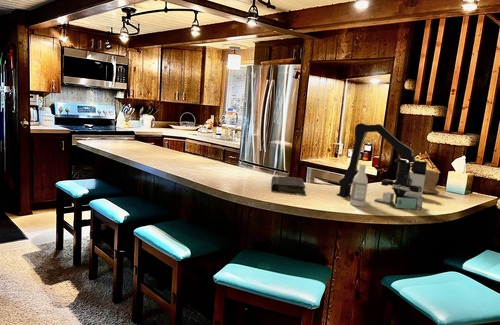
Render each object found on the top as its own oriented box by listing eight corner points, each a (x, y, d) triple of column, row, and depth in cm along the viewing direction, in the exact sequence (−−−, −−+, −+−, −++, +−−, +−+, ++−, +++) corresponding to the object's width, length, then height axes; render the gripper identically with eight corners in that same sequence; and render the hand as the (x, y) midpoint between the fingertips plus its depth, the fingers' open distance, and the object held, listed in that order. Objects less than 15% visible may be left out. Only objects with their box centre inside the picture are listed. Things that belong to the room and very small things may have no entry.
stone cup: (433, 192, 249) (436, 169, 247) (441, 195, 237) (445, 172, 235) (409, 189, 249) (413, 167, 247) (417, 193, 237) (420, 169, 235)
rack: (417, 209, 189) (418, 198, 188) (393, 203, 197) (395, 193, 196) (423, 207, 195) (425, 196, 194) (400, 202, 203) (401, 191, 202)
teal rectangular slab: (413, 208, 190) (415, 198, 189) (416, 209, 188) (418, 199, 187) (395, 207, 188) (397, 197, 187) (398, 208, 186) (399, 198, 185)
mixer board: (388, 204, 194) (389, 202, 193) (374, 201, 199) (374, 199, 199) (393, 203, 198) (394, 201, 198) (379, 200, 203) (379, 198, 203)
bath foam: (353, 202, 190) (359, 163, 188) (366, 205, 186) (372, 165, 183) (347, 204, 185) (352, 163, 183) (360, 207, 181) (366, 166, 178)
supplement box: (420, 196, 228) (424, 171, 226) (421, 199, 219) (425, 173, 217) (404, 193, 231) (407, 169, 229) (405, 196, 222) (409, 171, 220)
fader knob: (389, 202, 194) (390, 193, 194) (382, 200, 197) (383, 192, 196) (392, 201, 197) (394, 193, 197) (385, 199, 200) (386, 191, 199)
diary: (270, 192, 199) (271, 182, 199) (271, 183, 224) (271, 175, 223) (306, 195, 198) (307, 186, 198) (302, 186, 223) (303, 178, 222)
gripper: (428, 174, 191) (423, 205, 193) (392, 168, 203) (387, 196, 205) (420, 175, 182) (414, 207, 185) (383, 169, 195) (378, 198, 197)
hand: (398, 202), depth 193 cm, fingers closed
